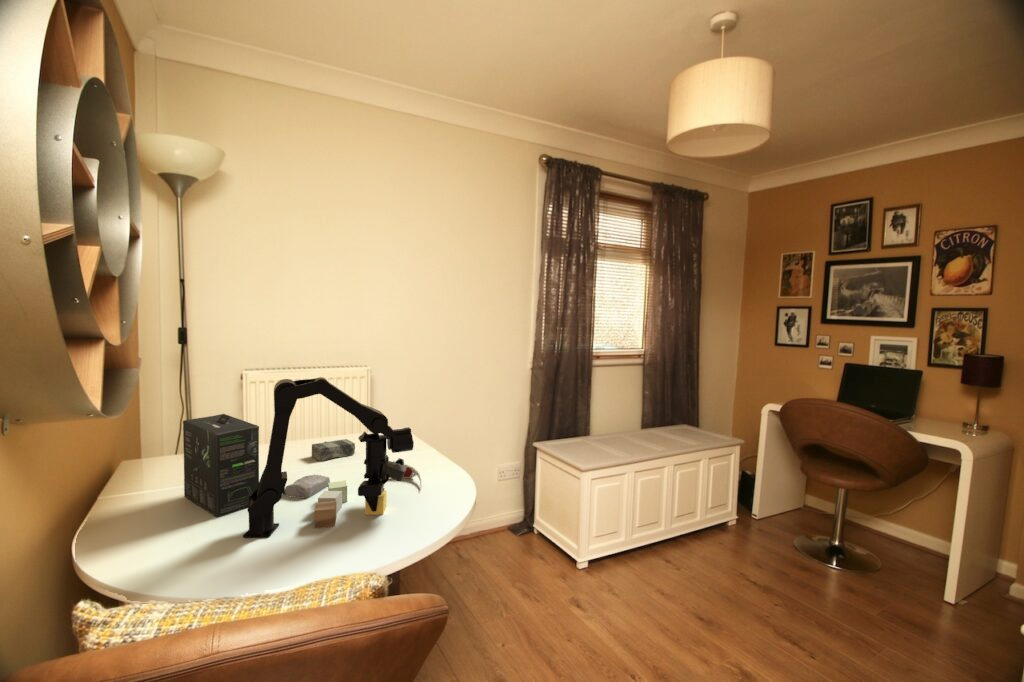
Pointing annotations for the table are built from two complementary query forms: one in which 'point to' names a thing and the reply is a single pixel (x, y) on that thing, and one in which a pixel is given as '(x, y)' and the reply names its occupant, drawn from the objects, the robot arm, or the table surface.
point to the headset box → (220, 463)
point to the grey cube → (331, 498)
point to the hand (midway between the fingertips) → (376, 507)
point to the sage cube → (339, 488)
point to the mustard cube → (380, 506)
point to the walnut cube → (325, 514)
